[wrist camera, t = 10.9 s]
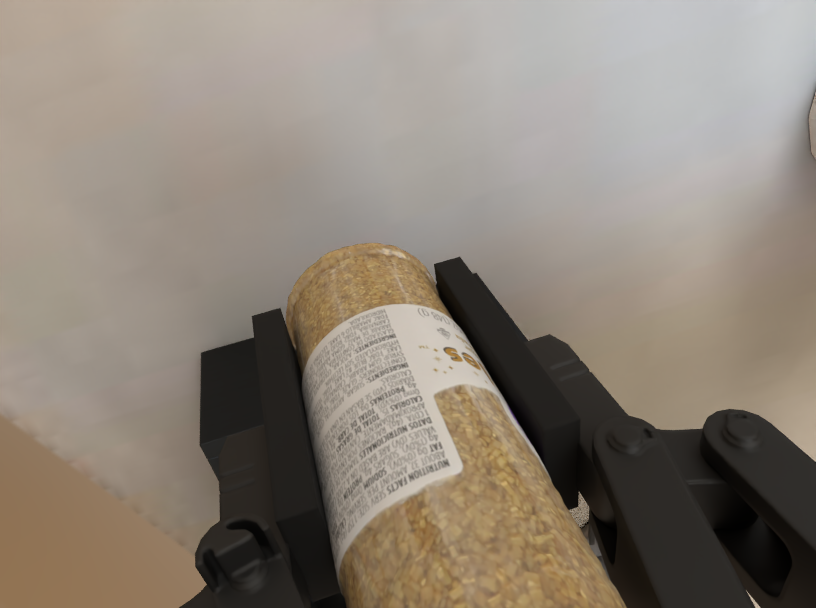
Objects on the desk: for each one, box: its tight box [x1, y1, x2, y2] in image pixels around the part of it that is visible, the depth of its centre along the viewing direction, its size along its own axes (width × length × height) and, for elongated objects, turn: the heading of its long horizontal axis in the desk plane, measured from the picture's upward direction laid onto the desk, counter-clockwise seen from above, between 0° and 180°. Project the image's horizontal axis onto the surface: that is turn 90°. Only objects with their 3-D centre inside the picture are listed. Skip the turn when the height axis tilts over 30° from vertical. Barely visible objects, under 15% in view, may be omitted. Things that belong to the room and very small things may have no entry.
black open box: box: [200, 273, 528, 608], centre depth 37 cm, size 22×16×7 cm
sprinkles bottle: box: [286, 243, 627, 608], centre depth 12 cm, size 5×5×13 cm
